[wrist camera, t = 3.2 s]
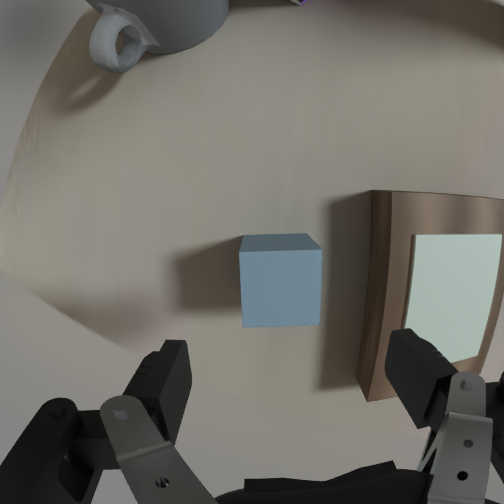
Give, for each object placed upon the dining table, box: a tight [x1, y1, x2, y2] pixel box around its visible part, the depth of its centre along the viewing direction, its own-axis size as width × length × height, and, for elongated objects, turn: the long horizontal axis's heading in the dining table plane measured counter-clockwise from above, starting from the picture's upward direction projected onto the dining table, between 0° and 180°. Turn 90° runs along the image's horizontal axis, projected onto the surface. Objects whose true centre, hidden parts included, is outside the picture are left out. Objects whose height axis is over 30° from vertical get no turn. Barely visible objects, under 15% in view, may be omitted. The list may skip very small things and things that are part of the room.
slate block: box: [239, 233, 322, 328], centre depth 21 cm, size 5×5×6 cm
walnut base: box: [356, 190, 504, 402], centre depth 22 cm, size 14×18×4 cm
